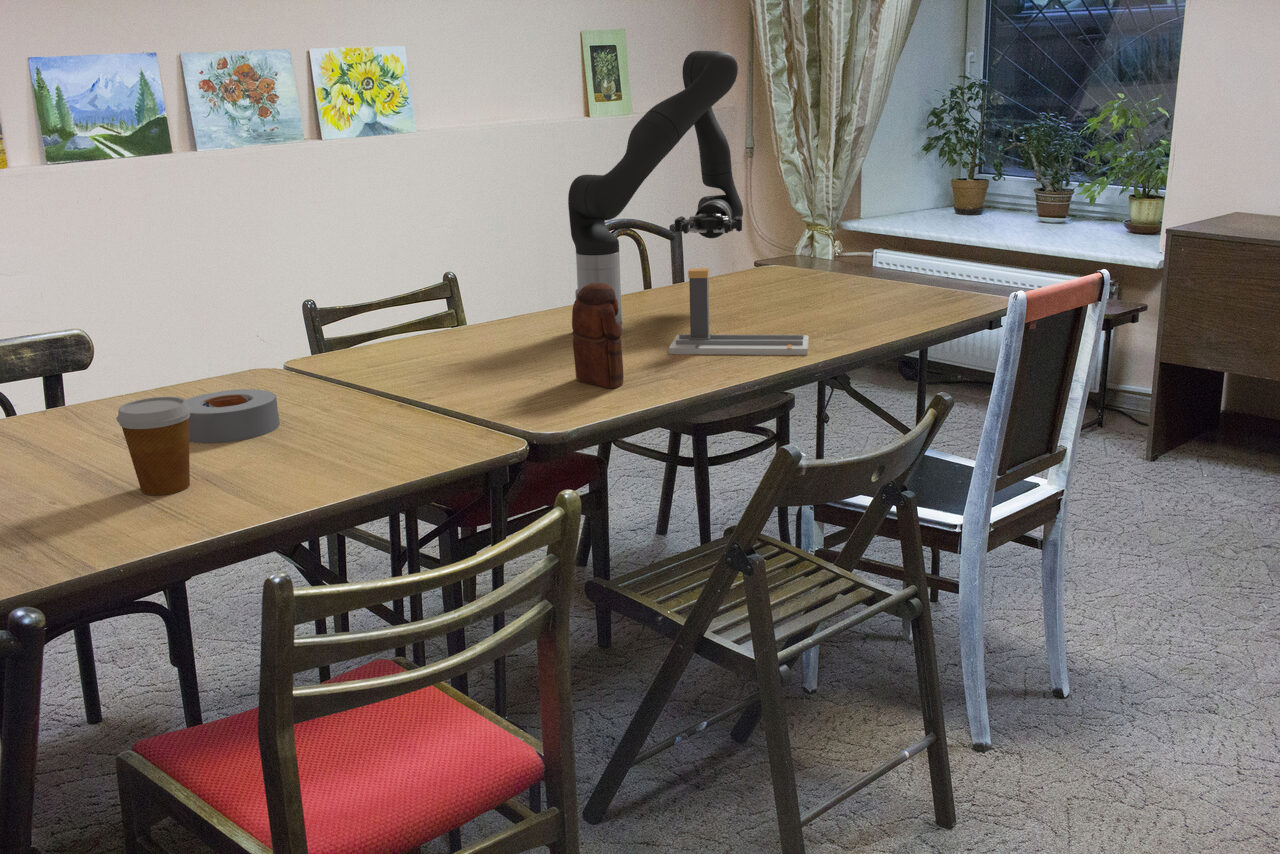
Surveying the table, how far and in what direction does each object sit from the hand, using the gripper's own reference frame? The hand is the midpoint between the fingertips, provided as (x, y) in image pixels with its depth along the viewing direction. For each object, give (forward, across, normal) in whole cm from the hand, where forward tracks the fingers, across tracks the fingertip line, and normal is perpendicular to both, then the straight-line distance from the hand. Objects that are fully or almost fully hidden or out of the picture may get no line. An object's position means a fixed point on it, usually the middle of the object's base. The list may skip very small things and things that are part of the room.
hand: (705, 228), depth 241 cm
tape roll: (+74, -70, +22) cm, 104 cm away
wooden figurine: (+42, -15, +22) cm, 50 cm away
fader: (+14, 0, +20) cm, 25 cm away
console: (+14, +8, +22) cm, 27 cm away
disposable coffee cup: (+102, -65, +22) cm, 123 cm away
